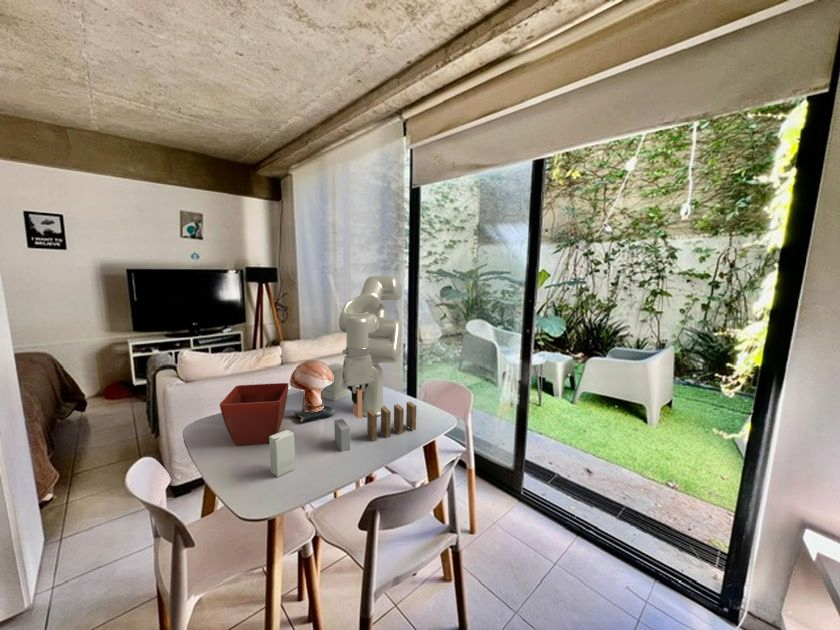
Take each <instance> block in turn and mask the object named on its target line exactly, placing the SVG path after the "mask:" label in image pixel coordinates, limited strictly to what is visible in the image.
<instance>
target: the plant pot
mask: <svg viewBox="0 0 840 630" xmlns="http://www.w3.org/2000/svg"><path fill="white" fill-rule="evenodd" d="M288 392H289V383H288V382H281V383H280V382H279V383H276V382H275V383H257V384H241V385H240V384H239V385H235V387H233V389H231V391H230V392H229V393H228V394H227V395H226V396H225V398H224V399H223V400H221V402H220V403H219V407H220V408H219V409H220V412H221V415H222V418H223V419H222V420H223V422H224V425H225V427H226V430H227V432H228V434H229V436H230V439H232V441H233V443H234V445H235V446H236V445H237V446H236V447H238V446H239V445H240V446H249V445H261V444H263V445H264V443H265V444H270V442H269V436H272V435H274V434H277V433H279V431H280V428H281V426H282V422H283V419H284V415H285V410H286V404H287V399H288Z"/></svg>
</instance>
